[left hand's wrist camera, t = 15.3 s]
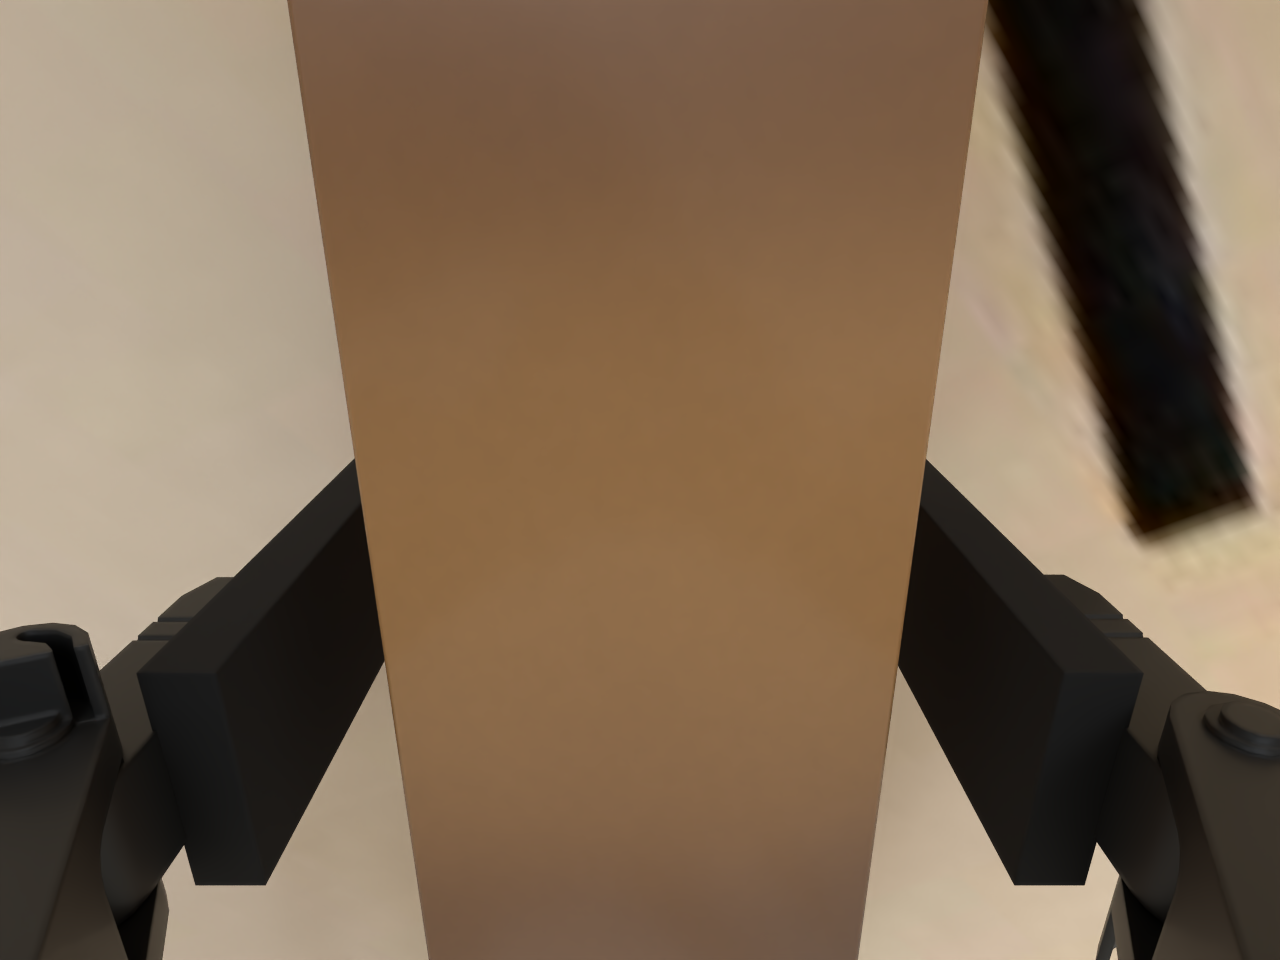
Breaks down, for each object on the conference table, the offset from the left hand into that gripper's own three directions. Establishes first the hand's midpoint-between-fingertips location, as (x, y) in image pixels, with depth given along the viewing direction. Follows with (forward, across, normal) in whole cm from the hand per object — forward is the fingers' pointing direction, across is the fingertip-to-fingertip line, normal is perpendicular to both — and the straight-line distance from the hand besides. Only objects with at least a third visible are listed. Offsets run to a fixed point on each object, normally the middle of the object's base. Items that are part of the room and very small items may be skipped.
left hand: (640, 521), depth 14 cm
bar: (+2, 0, -7) cm, 8 cm away
